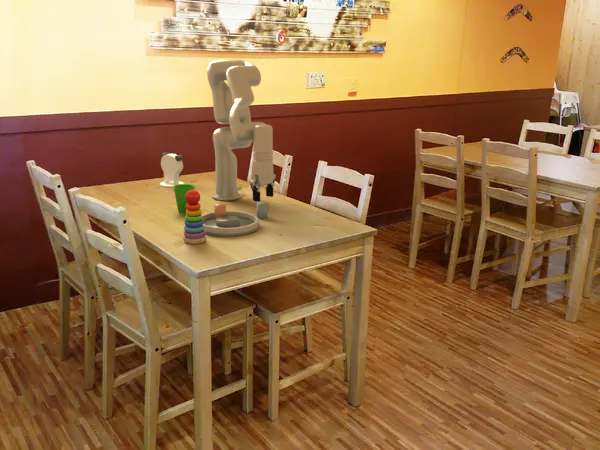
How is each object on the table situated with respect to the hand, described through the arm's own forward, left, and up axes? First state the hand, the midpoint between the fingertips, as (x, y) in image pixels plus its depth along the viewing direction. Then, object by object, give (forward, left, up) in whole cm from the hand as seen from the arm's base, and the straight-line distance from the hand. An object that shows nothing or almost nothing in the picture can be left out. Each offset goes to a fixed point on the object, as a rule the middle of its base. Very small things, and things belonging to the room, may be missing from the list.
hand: (263, 198), depth 234 cm
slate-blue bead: (0, -1, -8) cm, 8 cm away
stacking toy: (+38, -5, -8) cm, 39 cm away
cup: (+12, -31, -8) cm, 34 cm away
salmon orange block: (+14, -11, -7) cm, 19 cm away
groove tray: (+18, -5, -8) cm, 20 cm away
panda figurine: (-22, -67, -8) cm, 71 cm away
